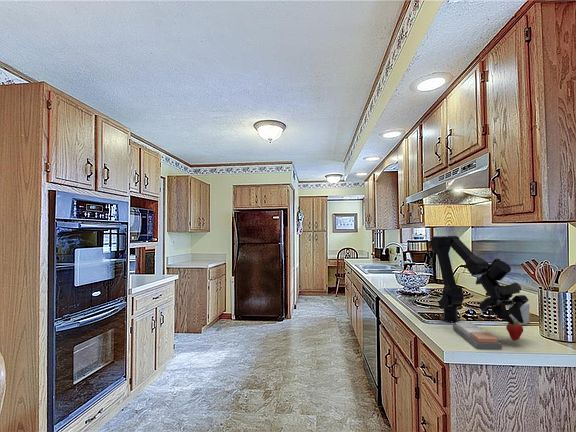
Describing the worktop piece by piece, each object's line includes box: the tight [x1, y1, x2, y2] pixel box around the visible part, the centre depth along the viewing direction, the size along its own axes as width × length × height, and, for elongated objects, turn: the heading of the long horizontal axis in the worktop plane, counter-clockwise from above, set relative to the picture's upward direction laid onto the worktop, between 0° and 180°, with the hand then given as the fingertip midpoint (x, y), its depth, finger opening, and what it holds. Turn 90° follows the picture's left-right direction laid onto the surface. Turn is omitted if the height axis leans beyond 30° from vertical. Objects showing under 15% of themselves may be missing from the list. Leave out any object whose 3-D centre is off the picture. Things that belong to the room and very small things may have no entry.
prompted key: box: [471, 332, 498, 343], centre depth 131 cm, size 6×6×2 cm
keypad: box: [452, 321, 503, 350], centre depth 138 cm, size 22×8×3 cm, turn 175°
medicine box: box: [510, 302, 530, 326], centre depth 158 cm, size 8×4×9 cm, turn 123°
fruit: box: [506, 319, 524, 341], centre depth 132 cm, size 5×5×8 cm
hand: (517, 323), depth 130 cm, fingers closed on fruit, 4 cm apart
